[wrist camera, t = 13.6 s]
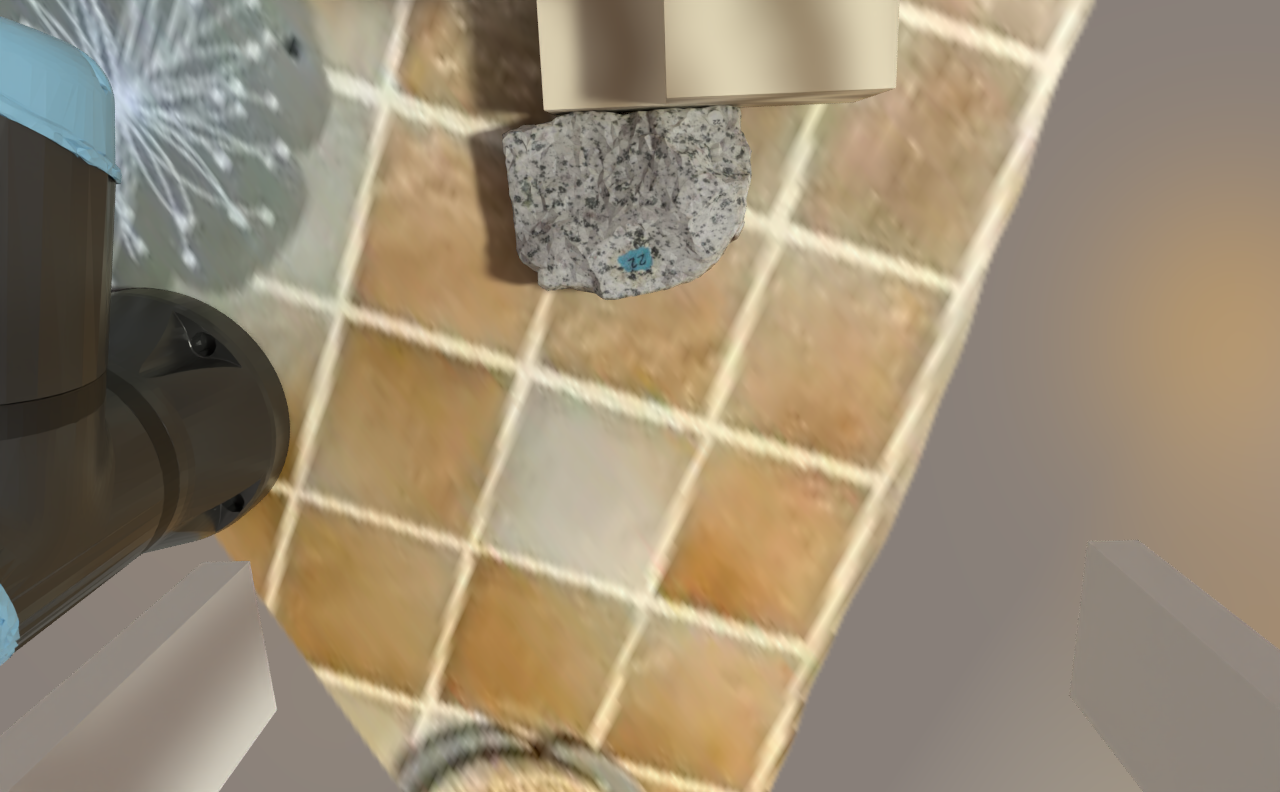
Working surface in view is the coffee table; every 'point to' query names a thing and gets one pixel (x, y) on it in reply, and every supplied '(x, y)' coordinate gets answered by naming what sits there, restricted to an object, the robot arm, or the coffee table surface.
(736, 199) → the rock
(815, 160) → the coffee table surface
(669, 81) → the stand
